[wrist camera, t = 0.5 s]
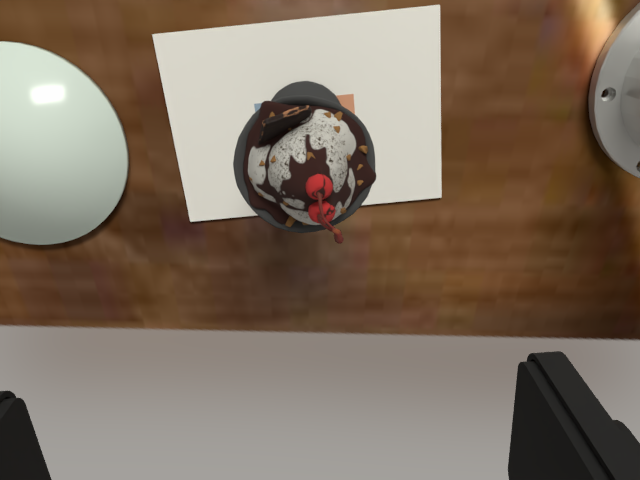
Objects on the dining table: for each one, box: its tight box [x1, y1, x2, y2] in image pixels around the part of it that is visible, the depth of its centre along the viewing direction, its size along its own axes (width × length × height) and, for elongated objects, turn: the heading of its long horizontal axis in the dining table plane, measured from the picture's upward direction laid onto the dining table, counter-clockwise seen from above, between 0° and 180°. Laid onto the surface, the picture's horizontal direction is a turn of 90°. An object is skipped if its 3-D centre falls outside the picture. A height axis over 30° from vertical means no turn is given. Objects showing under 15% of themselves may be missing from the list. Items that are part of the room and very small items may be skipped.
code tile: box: [152, 5, 441, 222], centre depth 36 cm, size 17×12×1 cm
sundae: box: [233, 81, 376, 243], centre depth 29 cm, size 7×7×15 cm
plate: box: [0, 41, 129, 245], centre depth 36 cm, size 13×13×1 cm
